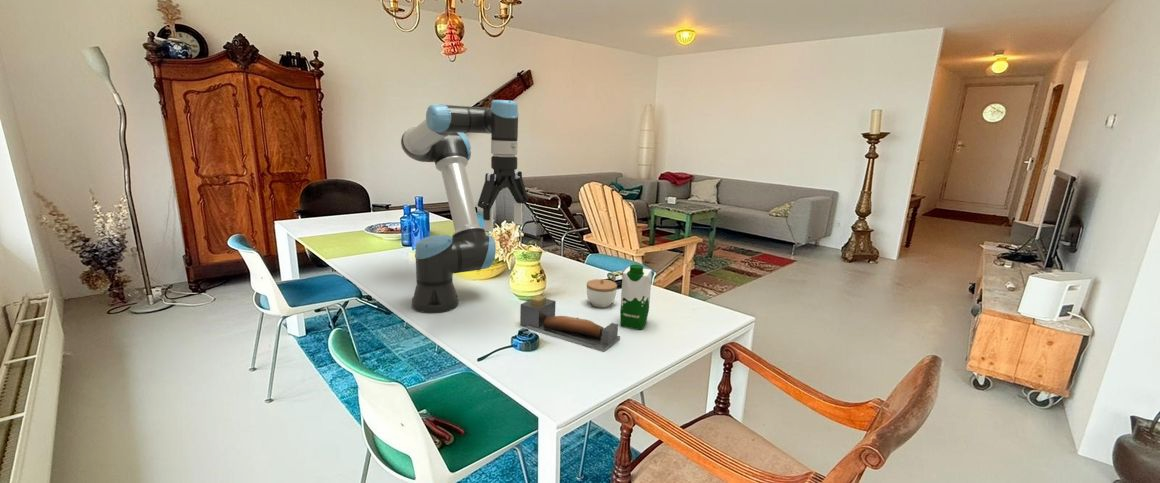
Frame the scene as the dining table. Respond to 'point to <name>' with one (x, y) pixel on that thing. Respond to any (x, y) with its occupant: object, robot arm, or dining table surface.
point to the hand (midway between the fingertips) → (503, 227)
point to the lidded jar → (601, 292)
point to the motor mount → (543, 308)
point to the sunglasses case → (573, 325)
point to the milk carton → (635, 297)
